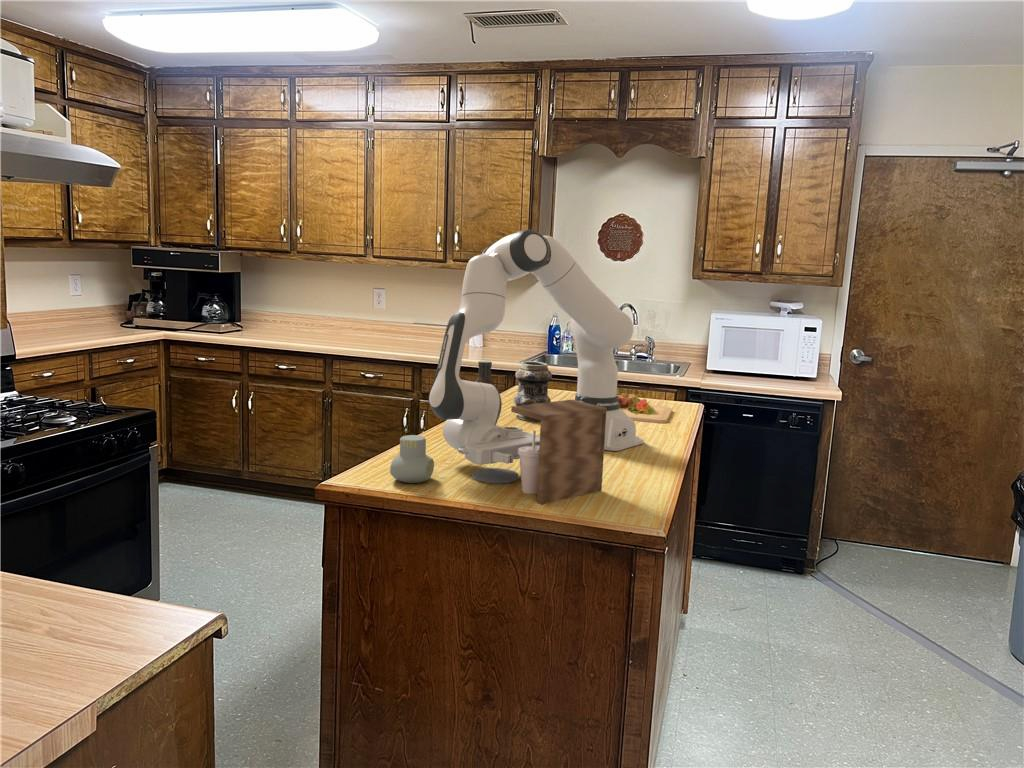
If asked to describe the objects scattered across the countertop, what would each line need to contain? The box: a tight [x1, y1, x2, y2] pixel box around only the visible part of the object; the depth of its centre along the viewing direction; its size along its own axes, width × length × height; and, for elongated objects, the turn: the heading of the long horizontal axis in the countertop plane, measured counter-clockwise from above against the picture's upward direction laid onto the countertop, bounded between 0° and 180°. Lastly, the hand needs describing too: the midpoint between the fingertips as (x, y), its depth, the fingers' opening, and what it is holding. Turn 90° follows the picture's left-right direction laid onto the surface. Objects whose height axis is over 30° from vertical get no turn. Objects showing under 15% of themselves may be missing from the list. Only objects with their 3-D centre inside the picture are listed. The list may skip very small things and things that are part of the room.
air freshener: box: [389, 434, 435, 484], centre depth 180 cm, size 11×8×10 cm
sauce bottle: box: [474, 360, 494, 385], centre depth 238 cm, size 7×6×20 cm
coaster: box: [471, 467, 520, 485], centre depth 186 cm, size 11×11×1 cm
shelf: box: [510, 399, 607, 505], centre depth 176 cm, size 18×11×19 cm, turn 128°
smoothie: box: [518, 430, 539, 495], centre depth 175 cm, size 6×6×14 cm
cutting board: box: [616, 393, 673, 424], centre depth 269 cm, size 35×23×8 cm
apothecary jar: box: [513, 360, 553, 422], centre depth 253 cm, size 12×12×18 cm
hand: (527, 457), depth 176 cm, fingers open, 8 cm apart
